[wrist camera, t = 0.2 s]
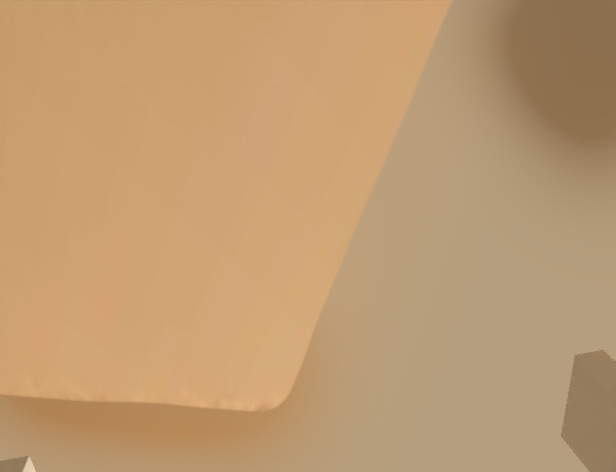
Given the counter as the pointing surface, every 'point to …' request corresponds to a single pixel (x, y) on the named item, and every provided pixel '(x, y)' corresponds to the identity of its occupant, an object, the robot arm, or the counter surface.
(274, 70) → the counter surface
